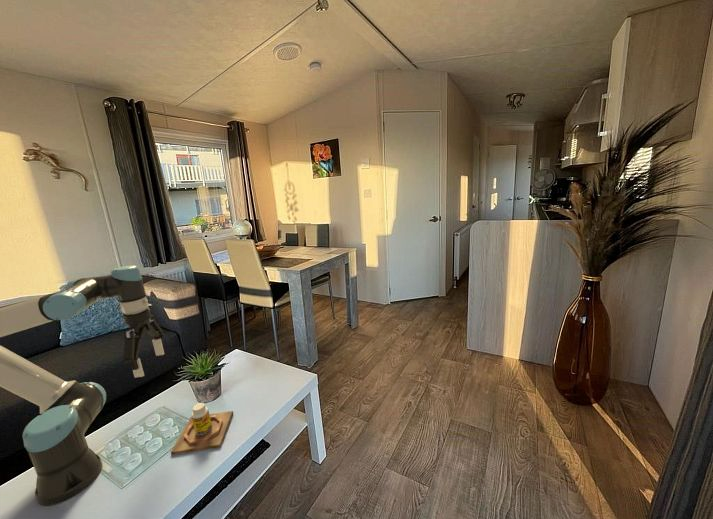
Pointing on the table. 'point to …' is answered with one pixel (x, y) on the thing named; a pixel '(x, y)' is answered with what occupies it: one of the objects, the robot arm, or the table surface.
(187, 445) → the holder board
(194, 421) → the supplement bottle
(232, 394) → the table surface
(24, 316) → the robot arm
